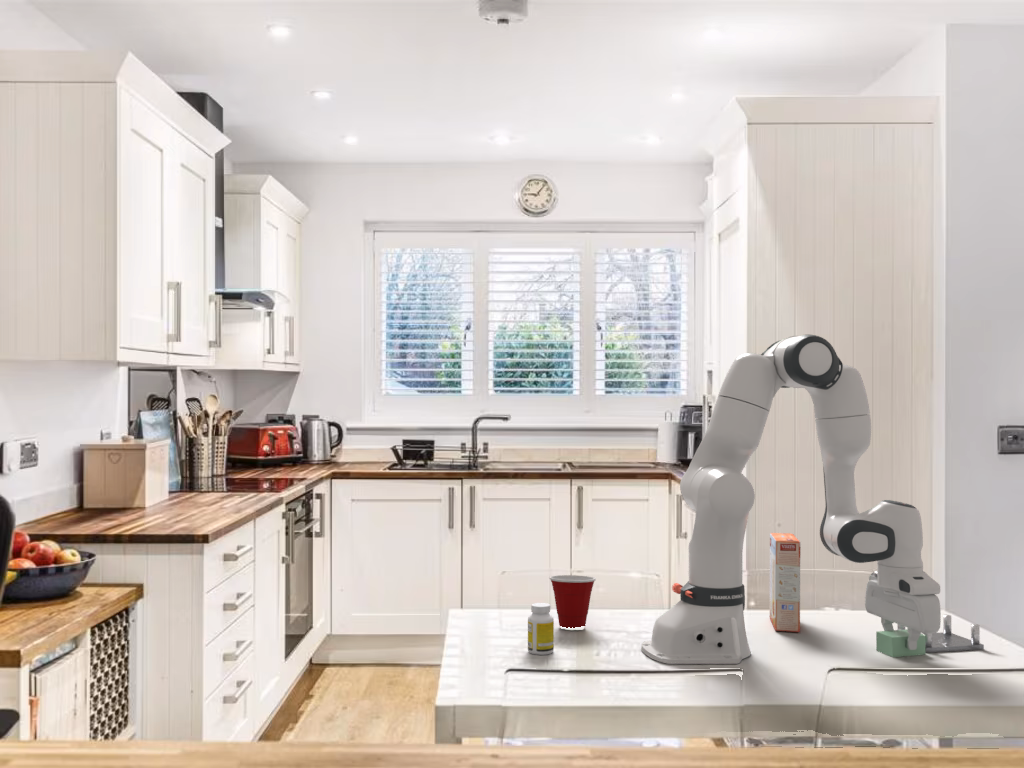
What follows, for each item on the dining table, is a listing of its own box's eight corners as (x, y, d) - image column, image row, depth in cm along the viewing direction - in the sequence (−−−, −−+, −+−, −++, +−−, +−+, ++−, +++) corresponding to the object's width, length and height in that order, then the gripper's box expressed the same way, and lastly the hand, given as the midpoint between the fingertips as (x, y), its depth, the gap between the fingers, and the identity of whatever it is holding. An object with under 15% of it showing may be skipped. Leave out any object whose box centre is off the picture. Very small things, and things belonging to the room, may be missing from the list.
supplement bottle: (558, 650, 184) (558, 603, 184) (545, 657, 179) (545, 608, 179) (536, 647, 187) (536, 600, 187) (522, 652, 182) (522, 605, 182)
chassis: (925, 652, 183) (925, 628, 184) (893, 639, 194) (893, 617, 194) (983, 649, 186) (983, 625, 186) (949, 636, 197) (948, 614, 197)
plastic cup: (597, 623, 208) (597, 572, 208) (594, 634, 197) (594, 581, 197) (551, 621, 209) (551, 570, 210) (546, 632, 198) (546, 579, 199)
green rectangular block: (892, 657, 180) (892, 637, 180) (876, 650, 185) (876, 631, 185) (925, 654, 182) (925, 635, 182) (908, 648, 187) (908, 629, 187)
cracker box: (801, 633, 199) (801, 541, 200) (774, 632, 200) (773, 540, 201) (794, 619, 213) (794, 532, 213) (769, 617, 214) (768, 531, 215)
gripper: (857, 569, 194) (857, 632, 193) (918, 588, 174) (919, 658, 173) (882, 568, 195) (883, 631, 194) (946, 587, 175) (947, 657, 174)
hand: (900, 644), depth 184 cm, fingers closed on green rectangular block, 5 cm apart
